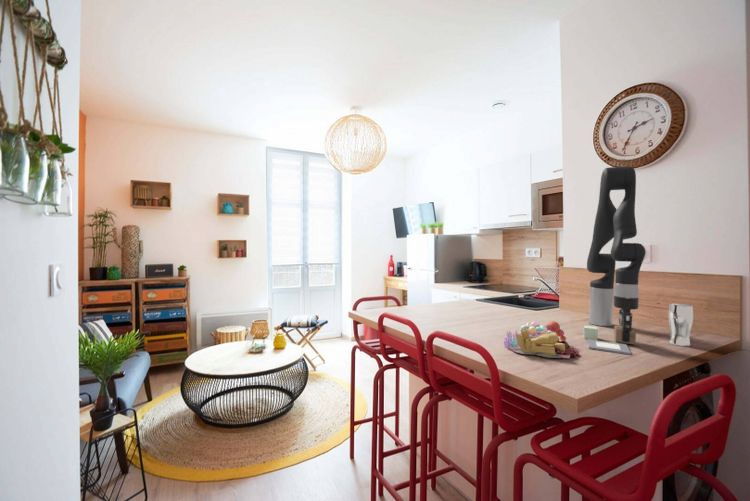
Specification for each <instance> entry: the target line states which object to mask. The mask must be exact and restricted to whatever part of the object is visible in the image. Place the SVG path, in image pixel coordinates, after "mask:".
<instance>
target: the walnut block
mask: <svg viewBox="0 0 750 501" xmlns="http://www.w3.org/2000/svg"><path fill="white" fill-rule="evenodd" d="M625 328H629V327H625ZM631 329H632V331H631V332H630V341H629V342H624V341H622V326H620V325H614V336H613V338H614V341H615V343H620V344H628V345H636V343H637V342H636V341H637V331H636V329H635V328H634V327H631Z"/></svg>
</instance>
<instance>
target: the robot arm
mask: <svg viewBox="0 0 750 501" xmlns="http://www.w3.org/2000/svg"><path fill="white" fill-rule="evenodd" d="M599 184H600V185H599V195H598V196H599V197H598V198H599V199H598V204H597V211H596V214H595V219H594V225H593V232H592V239H591V240H592V241H591V245H590V248H589V252H588V255H587V262H586V268H587V271H588V273H589V272H590V273H591V274H592V273H593V274H594V273H595V274H604V275H603V276H602V277H600V278H598V279H593V280H591V281H590V283H589V308H588V309H589V312H588V313H589V315H588V323H589V324H591V325H592V326H593V325H594V326H600V327H613V322H614V321H613V317H614V308H617V309H619V311H618V324H619V326H622V341H624V342H629V341H630V332H631V331H632V329H631V327H632V325H633V316H634V315H633V313H632V312H631V311H632V310H633V311H634V310H638V309H639V299H640V298H639V297H640V296H639V295H640V294H639V292H640V290H639V277H640V276H639V274H640V269H641V267H642V265H643V263H644V259H645V257H646V248H645V246H644V245H643V244H642V243H639V242H624V240H629V239H633V238H635V237H636V236H637V234H638V231H637V230H638V229H637V224H636V223H637V221H636V216H635V215H636V214H635V213H636V211H635V209H636V208H635V206H636V195H637V194H636V191H637V190H636V189H637V187H636V186H637V174H636V170H635V168H634V167H633V166H629V165H627V166H615V167H613V166H612V167H611V166H609V167H606V168H604V169H603V170H602V174H601V176H600V183H599ZM612 191H624V197H623V199H622V202H620V204H619V205H618V207H616V206H615V205H614V203H613V200H612V199H611V195H610V194H611V192H612ZM611 240H613V242H612V246H611V249H610V253H601V250H602V249H603V248H604V247H605V246H606V244H608V243H610V241H611ZM616 262H627V263H629V262H630V263H629V265H628V266H625V267H623V266H622V267H618V268H616ZM625 327H629V328H625ZM632 328H633V327H632Z"/></svg>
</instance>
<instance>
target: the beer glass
mask: <svg viewBox="0 0 750 501" xmlns="http://www.w3.org/2000/svg"><path fill="white" fill-rule="evenodd" d="M668 307H669V308H668V324H669V329H670V336H669V337H670V338H669V341H668V342H669V344H671V345H675V346H680V347H691V340H690V334H691V330H692V327H693V323H694V309H693V308H694V307H693V305H691V304H686V303H673V302H672V303H669V306H668Z"/></svg>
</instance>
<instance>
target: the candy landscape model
mask: <svg viewBox="0 0 750 501" xmlns="http://www.w3.org/2000/svg"><path fill="white" fill-rule="evenodd" d="M566 340H567V338H566V336H565V332H564V330H563V329H561V326H560V324H559V323H558V322H557V321H554V320H553V321H552V320H551V321H550V322H548V323H547V324H545V325H542V324H541V325H540V323H538V322H536V321H532V322H527V323H526V324H524V325H521V326H520V329H519V332H517V330H515V332H513V333H512V332H511V330H509V331H508V330H506V337H505V338H504V340H503V345H504V348H506V349H507V350H509V349H510V350H511V351H513V352H514V353H517V354H520V355H522V354H523V355H535V356H539V357H543V358H550V359H553V358H554V359H562V358H563V359H571V357H572V358H577V356H580V351H579V350H578V349H576V348H575V349H574V348H573V345H571V344H570V343H569V342H568V341H566Z"/></svg>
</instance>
